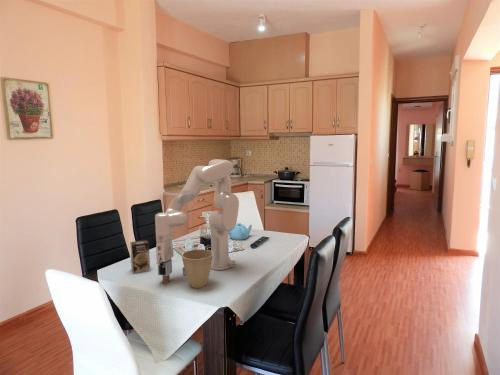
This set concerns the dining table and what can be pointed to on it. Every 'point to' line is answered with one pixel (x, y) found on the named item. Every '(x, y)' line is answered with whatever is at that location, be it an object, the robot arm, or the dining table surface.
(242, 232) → the teapot
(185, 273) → the short post
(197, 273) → the plant pot
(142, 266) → the coffee box
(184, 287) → the dining table surface
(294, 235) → the dining table surface
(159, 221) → the robot arm
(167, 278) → the post
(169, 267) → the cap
